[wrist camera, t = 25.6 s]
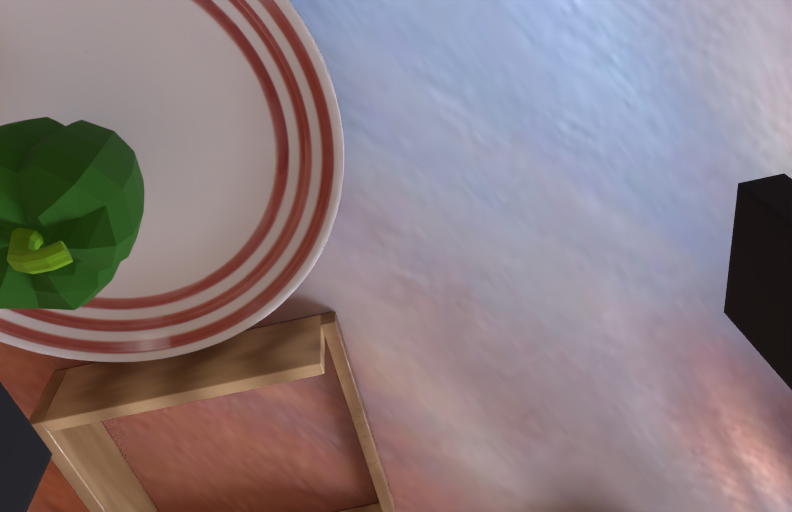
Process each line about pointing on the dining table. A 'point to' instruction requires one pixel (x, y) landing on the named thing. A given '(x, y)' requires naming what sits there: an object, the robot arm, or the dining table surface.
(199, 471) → the dining table surface
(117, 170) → the bell pepper
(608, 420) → the dining table surface
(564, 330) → the dining table surface
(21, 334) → the dinner plate
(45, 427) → the crate
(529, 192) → the dining table surface
